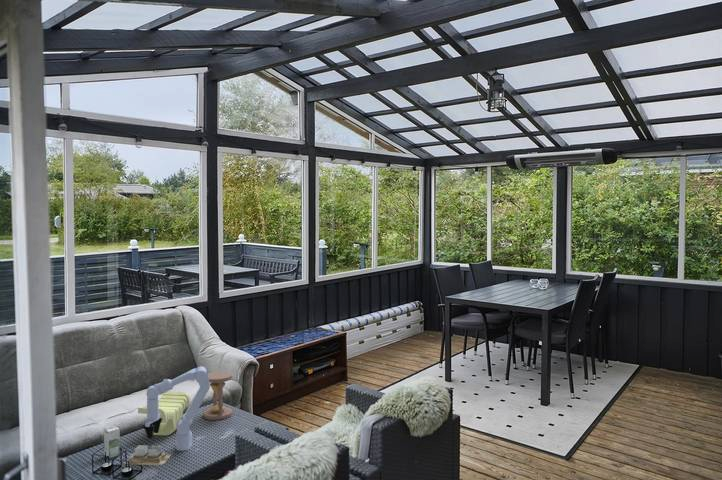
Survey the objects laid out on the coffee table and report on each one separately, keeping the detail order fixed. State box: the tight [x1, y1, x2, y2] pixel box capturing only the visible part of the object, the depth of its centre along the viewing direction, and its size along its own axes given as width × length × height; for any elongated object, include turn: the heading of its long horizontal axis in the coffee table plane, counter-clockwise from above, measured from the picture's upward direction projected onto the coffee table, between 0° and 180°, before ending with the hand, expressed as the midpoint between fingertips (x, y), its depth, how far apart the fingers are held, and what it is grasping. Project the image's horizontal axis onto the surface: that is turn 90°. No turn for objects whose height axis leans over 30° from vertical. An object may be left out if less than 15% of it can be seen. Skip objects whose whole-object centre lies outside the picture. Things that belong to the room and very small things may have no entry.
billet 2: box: [148, 445, 162, 458], centre depth 278 cm, size 4×4×6 cm
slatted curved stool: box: [137, 390, 190, 436], centre depth 318 cm, size 30×16×18 cm, turn 173°
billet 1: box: [134, 444, 149, 458], centre depth 278 cm, size 4×4×6 cm
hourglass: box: [202, 371, 233, 421], centre depth 343 cm, size 18×18×25 cm
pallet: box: [122, 451, 173, 466], centre depth 278 cm, size 13×20×3 cm, turn 88°
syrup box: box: [103, 425, 121, 460], centre depth 284 cm, size 6×6×14 cm
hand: (153, 435), depth 287 cm, fingers open, 7 cm apart
